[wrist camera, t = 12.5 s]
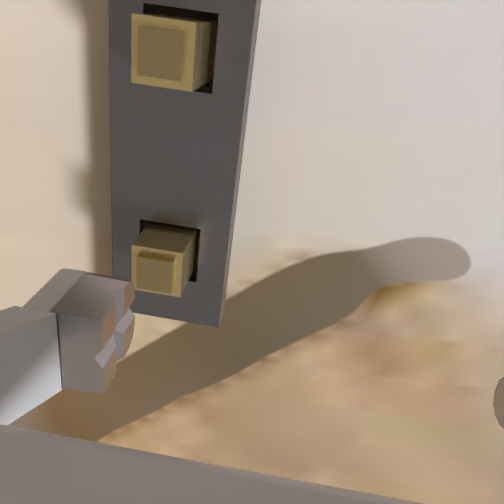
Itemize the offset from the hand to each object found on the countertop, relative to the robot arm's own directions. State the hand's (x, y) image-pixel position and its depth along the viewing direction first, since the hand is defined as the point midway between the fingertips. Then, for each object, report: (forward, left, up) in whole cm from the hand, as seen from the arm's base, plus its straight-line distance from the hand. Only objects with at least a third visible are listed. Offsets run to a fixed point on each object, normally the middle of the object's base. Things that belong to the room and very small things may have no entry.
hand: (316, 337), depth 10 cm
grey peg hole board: (+10, +5, -29) cm, 31 cm away
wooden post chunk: (+10, +13, -29) cm, 33 cm away
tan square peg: (+10, -3, -29) cm, 31 cm away
